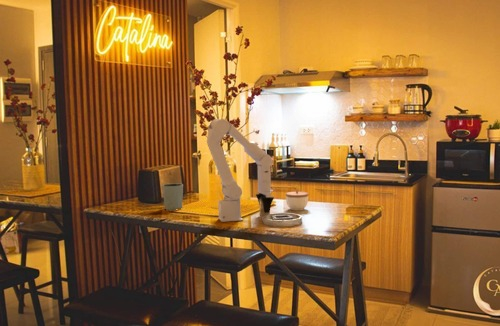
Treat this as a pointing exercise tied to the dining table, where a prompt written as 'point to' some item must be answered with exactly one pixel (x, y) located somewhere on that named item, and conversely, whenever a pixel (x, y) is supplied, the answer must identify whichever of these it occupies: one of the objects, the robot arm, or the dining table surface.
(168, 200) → the grey green cup
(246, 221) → the dining table surface
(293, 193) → the lidded jar
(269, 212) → the wood wick
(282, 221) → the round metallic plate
